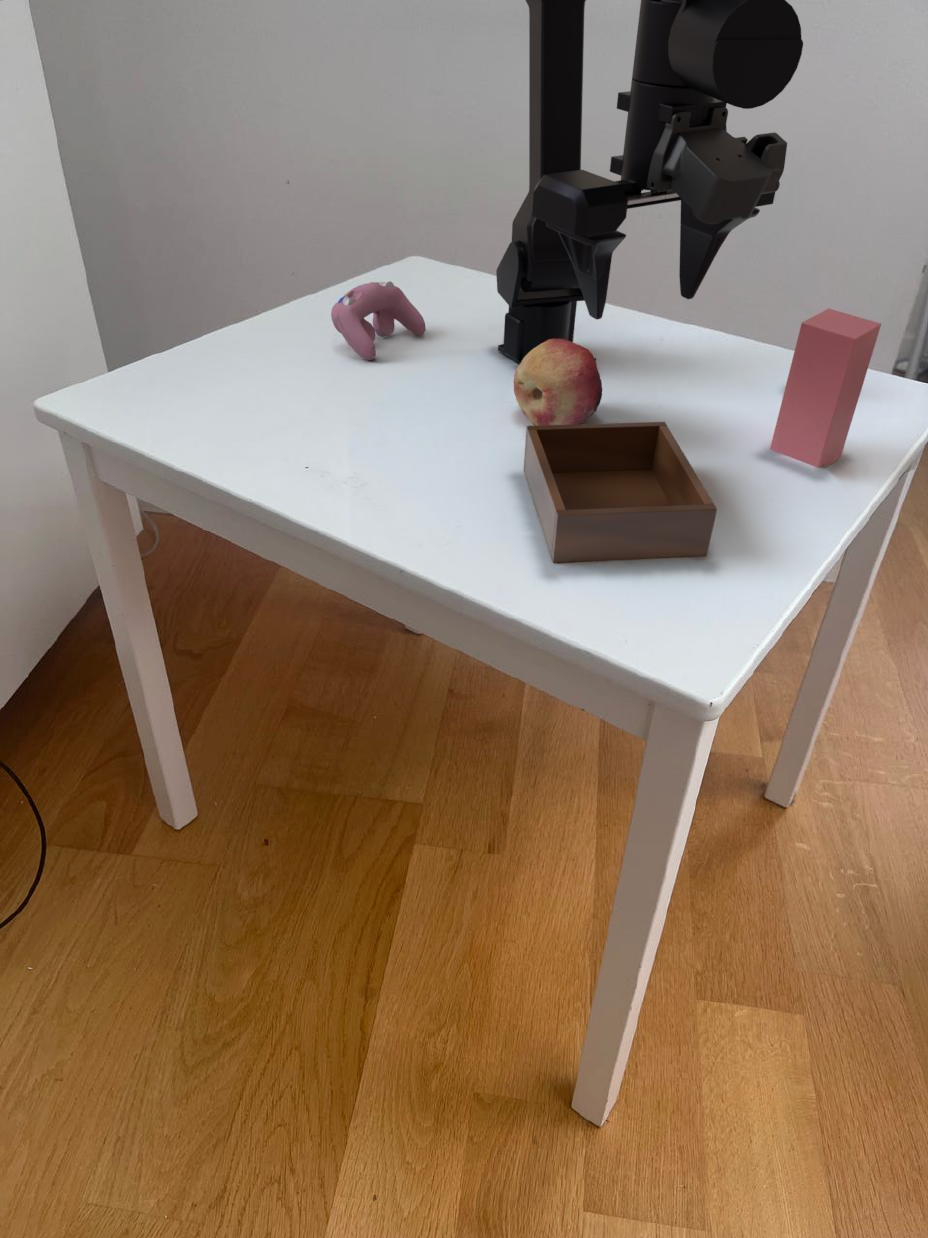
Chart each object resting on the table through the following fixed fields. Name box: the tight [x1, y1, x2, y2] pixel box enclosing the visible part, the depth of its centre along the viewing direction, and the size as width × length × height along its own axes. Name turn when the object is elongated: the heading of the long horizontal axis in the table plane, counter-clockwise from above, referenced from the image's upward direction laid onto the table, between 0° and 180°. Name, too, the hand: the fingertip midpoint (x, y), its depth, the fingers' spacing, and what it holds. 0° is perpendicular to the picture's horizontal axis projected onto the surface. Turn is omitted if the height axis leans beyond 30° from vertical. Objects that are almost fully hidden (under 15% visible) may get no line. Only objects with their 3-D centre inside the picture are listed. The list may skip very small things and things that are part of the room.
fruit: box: [513, 339, 603, 426], centre depth 83 cm, size 8×8×8 cm
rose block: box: [769, 308, 882, 469], centre depth 79 cm, size 5×5×12 cm
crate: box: [522, 421, 718, 564], centre depth 72 cm, size 13×11×5 cm
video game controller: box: [330, 281, 427, 361], centre depth 98 cm, size 10×5×7 cm, turn 144°
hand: (642, 307), depth 74 cm, fingers open, 9 cm apart
